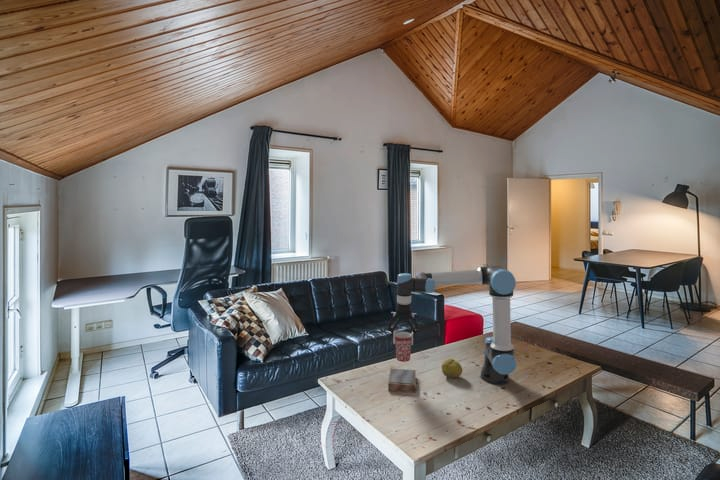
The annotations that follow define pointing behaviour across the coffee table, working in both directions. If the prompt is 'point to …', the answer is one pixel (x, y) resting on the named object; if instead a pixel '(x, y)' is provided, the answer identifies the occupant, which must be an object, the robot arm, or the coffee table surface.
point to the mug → (403, 346)
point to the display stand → (402, 380)
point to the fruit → (451, 368)
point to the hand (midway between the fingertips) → (403, 343)
